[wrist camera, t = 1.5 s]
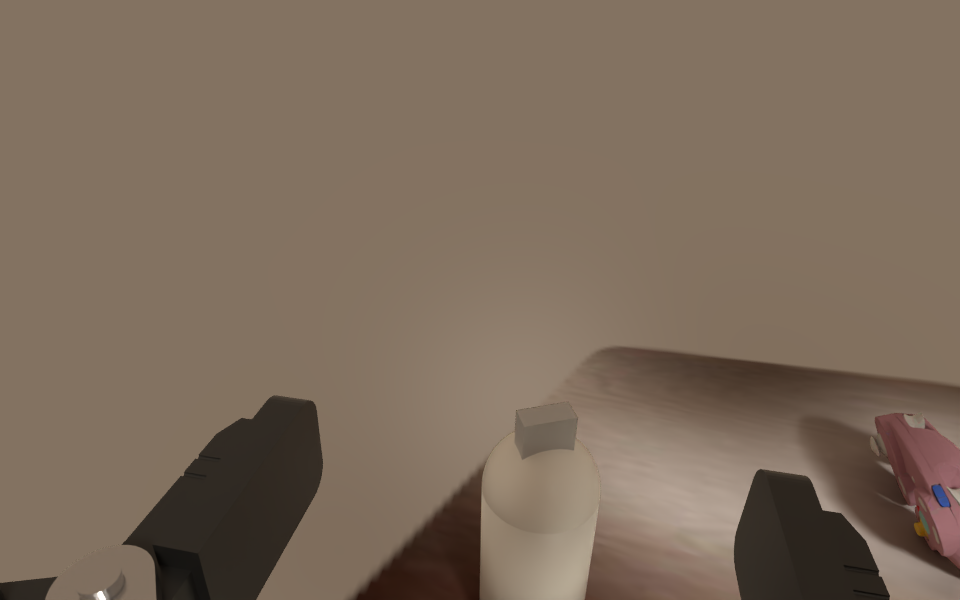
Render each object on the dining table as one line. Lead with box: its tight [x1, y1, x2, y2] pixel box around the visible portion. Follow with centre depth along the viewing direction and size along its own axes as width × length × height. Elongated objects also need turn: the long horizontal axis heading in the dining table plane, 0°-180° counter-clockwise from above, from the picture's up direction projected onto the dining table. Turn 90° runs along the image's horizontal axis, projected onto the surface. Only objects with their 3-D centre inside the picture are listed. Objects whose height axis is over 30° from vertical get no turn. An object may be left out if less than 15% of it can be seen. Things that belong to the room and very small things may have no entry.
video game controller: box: [870, 413, 960, 569], centre depth 35 cm, size 10×5×7 cm, turn 170°
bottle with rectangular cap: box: [480, 402, 601, 600], centre depth 28 cm, size 5×5×13 cm
